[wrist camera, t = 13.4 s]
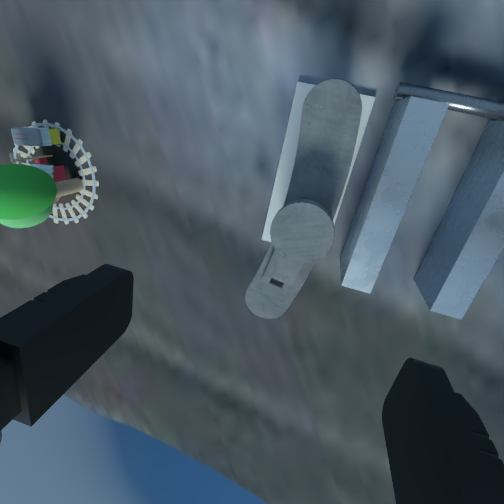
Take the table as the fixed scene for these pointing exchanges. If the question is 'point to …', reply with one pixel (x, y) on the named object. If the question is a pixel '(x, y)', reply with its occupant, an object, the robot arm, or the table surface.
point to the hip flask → (308, 197)
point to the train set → (42, 179)
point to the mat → (291, 149)
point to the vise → (457, 214)
